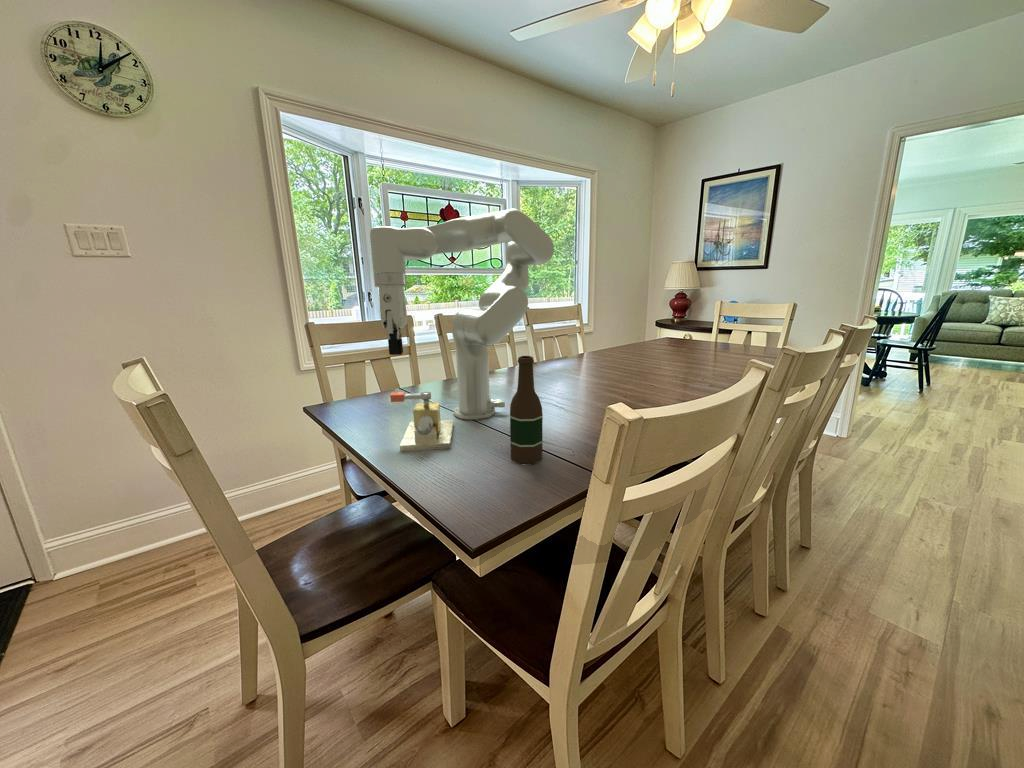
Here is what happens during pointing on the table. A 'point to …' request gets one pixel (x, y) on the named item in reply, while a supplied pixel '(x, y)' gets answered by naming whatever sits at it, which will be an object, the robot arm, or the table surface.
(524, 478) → the table surface
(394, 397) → the valve lever
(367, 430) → the table surface
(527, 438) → the beer bottle
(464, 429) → the table surface
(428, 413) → the valve stand
